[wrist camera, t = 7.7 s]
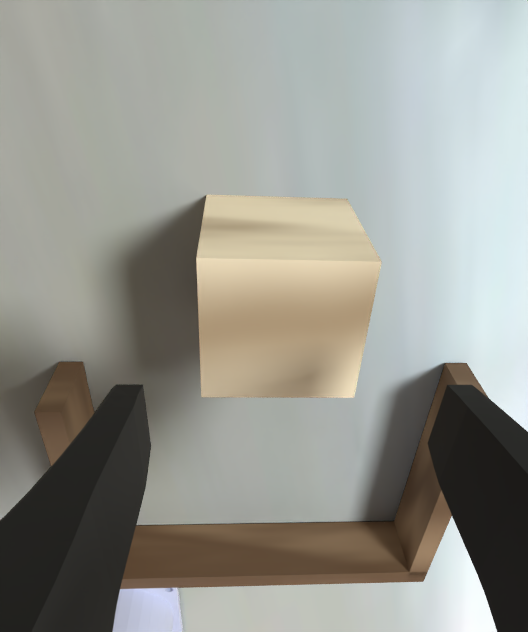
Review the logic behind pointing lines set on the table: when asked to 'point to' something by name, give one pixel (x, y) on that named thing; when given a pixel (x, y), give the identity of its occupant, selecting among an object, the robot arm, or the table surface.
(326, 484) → the table surface
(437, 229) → the table surface
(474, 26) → the table surface
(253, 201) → the maple block
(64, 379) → the open walnut frame
